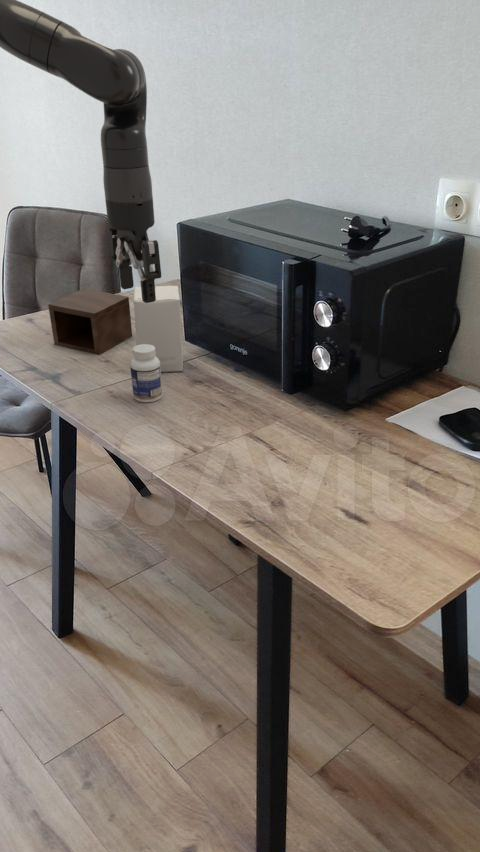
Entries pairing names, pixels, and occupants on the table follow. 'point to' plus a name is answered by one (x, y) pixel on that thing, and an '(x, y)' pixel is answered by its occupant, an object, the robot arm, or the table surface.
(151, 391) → the pill bottle
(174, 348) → the white product box
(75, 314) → the shelf
